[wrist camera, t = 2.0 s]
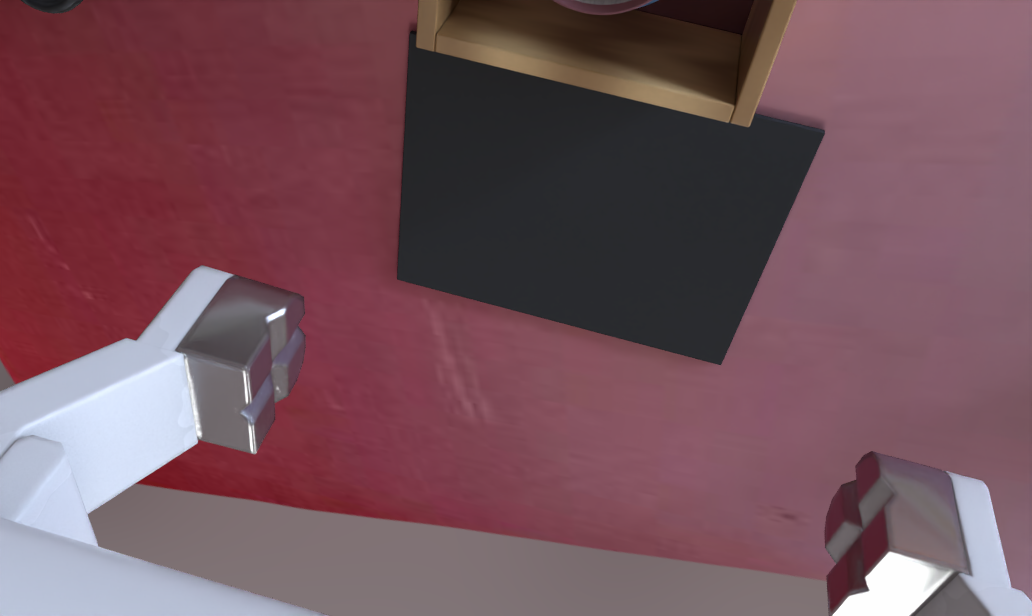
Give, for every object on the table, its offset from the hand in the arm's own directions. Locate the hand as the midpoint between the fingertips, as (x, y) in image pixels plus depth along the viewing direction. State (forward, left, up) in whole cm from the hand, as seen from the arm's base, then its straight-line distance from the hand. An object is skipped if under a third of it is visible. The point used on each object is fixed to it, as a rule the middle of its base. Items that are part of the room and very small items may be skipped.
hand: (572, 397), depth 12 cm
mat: (+2, +18, -29) cm, 34 cm away
